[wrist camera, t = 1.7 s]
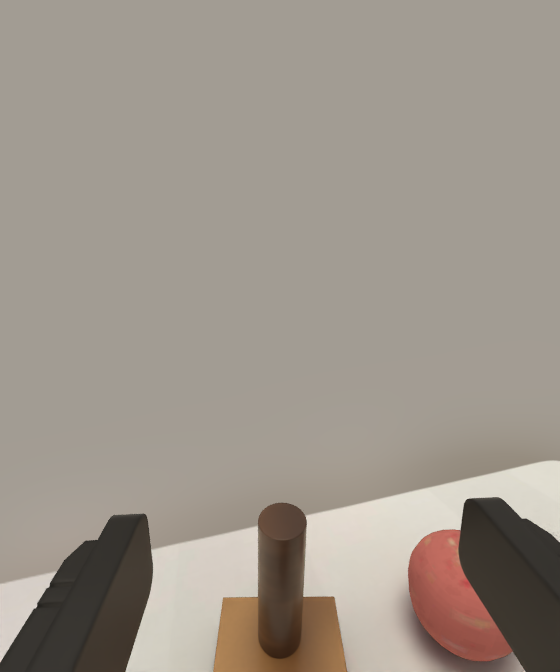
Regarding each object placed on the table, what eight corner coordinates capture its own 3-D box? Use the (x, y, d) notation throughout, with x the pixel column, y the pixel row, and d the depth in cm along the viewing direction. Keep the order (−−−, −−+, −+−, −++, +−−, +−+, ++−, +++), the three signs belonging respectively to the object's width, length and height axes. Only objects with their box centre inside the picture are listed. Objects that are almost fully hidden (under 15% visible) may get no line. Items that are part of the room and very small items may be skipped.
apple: (389, 583, 30) (399, 504, 27) (475, 581, 30) (493, 503, 28) (426, 694, 23) (445, 600, 20) (539, 691, 23) (571, 597, 21)
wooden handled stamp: (213, 713, 22) (205, 558, 18) (223, 625, 26) (218, 489, 23) (345, 711, 22) (361, 557, 18) (331, 624, 27) (342, 489, 23)
